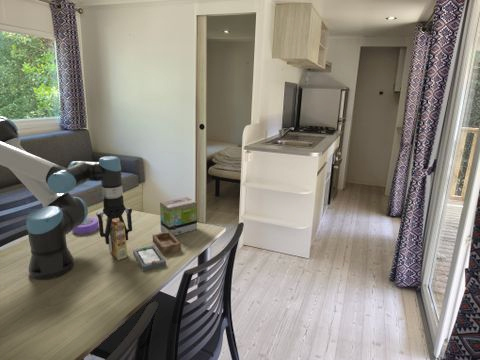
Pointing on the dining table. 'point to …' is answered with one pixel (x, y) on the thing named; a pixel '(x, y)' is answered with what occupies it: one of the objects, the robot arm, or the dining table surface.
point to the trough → (166, 242)
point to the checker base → (154, 263)
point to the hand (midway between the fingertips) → (117, 248)
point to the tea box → (178, 215)
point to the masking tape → (87, 226)
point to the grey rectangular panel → (148, 256)
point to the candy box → (118, 239)
